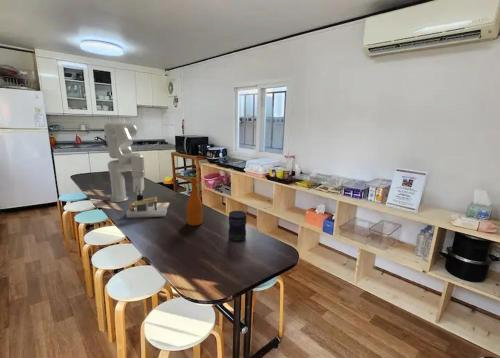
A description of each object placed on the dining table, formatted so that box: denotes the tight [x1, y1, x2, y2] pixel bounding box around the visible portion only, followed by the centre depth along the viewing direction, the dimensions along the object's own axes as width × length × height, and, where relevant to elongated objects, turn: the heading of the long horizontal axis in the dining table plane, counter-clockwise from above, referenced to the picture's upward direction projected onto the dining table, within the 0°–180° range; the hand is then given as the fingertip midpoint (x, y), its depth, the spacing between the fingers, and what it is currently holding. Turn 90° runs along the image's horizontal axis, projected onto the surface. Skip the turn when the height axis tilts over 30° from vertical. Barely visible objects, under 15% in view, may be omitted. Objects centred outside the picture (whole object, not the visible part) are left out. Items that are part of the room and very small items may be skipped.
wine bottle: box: [185, 176, 204, 227], centre depth 155 cm, size 10×10×30 cm
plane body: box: [126, 200, 168, 219], centre depth 169 cm, size 24×9×9 cm, turn 100°
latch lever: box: [132, 196, 158, 207], centre depth 164 cm, size 15×2×2 cm, turn 135°
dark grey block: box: [136, 203, 149, 211], centre depth 168 cm, size 6×5×5 cm
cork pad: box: [151, 202, 170, 209], centre depth 186 cm, size 11×11×1 cm
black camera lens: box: [228, 210, 247, 244], centre depth 138 cm, size 10×10×15 cm
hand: (140, 201), depth 164 cm, fingers closed
